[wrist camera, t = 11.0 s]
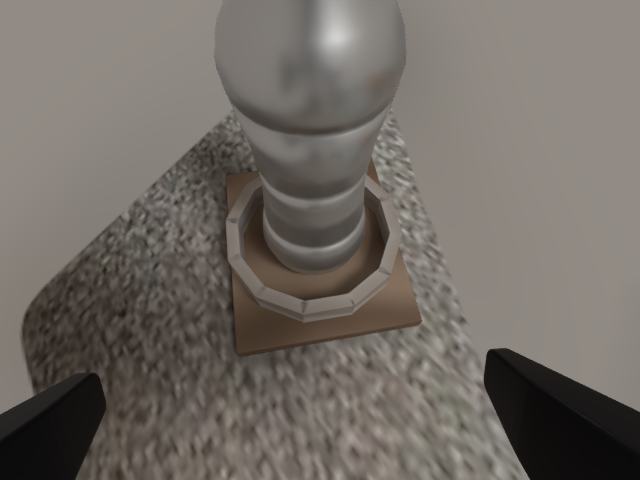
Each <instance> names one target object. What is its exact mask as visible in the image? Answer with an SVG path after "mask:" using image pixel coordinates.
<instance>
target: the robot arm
mask: <svg viewBox="0 0 640 480" xmlns="http://www.w3.org/2000/svg"><path fill="white" fill-rule="evenodd" d="M484 385H485V389H486V391H487V393H488V395H489V398H490V400H491V402H492V404H493V406H494V409H495V411H496V413H497V415H498V417H499V419H500V422H501V424H502V426H503V428H504V430H505V433H506V435H507V437H508V439H509V441H510V443H511V445H512V447H513V450H514V452H515V454H516V455H517V457H518V459H519V461H520V463H521V465H522V466H523V468H524V470H525V472H526V473H527V475H528V477H529V478H530V480H640V412H638V411H637V410H635V409H633V408H630V407H628V406H626V405H624V404H622V403H620V402H618V401H616V400H614V399H612V398H610V397H608V396H605V395H603V394H601V393H599V392H597V391H595V390H593V389H591V388H589V387H587V386H585V385H583V384H580V383H578V382H576V381H574V380H572V379H570V378H568V377H566V376H564V375H562V374H559V373H558V372H555V371H553V370H551V369H549V368H547V367H545V366H543V365H541V364H539V363H537V362H535V361H533V360H530V359H528V358H526V357H524V356H522V355H520V354H518V353H516V352H514V351H512V350H510V349H507V348H499V349H490V350H489V351H488V352H487V355H486V364H485V371H484ZM105 410H106V399H105V396H104V392H103V389H102V385H101V381H100V378H99V376H98V375H97V374H96V373H78V374H75V375H73V376H71V377H69V378H67V379H65V380H63V381H61V382H60V383H58V384H56V385H54V386H52V387H50V388H48V389H47V390H45V391H43V392H41V393H39V394H37V395H36V396H34V397H32V398H30V399H28V400H26V401H25V402H23V403H21V404H19V405H17V406H15V407H13V408H12V409H10V410H8V411H6V412H4V413H2V414H0V480H75V479H76V476H77V474H78V472H79V470H80V468H81V465H82V463H83V461H84V459H85V456H86V454H87V452H88V450H89V447H90V445H91V443H92V441H93V438H94V436H95V434H96V432H97V429H98V427H99V425H100V423H101V420H102V418H103V416H104V413H105Z"/></svg>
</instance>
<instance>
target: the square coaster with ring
mask: <svg viewBox="0 0 640 480" xmlns="http://www.w3.org/2000/svg"><path fill="white" fill-rule="evenodd" d="M226 184H227V201H228V217H227V218H226V220H225V221H226V235H227V253H228V263H229V264H230V266H231V268H232V285H233V302H234V319H235V336H236V353H237V354H238V355H239V356H240V357H241V356H247V355H253V354H258V353H264V352H270V351H275V350H281V349H287V348H293V347H298V346H304V345H310V344H315V343H321V342H327V341H332V340H338V339H344V338H349V337H355V336H361V335H366V334H372V333H378V332H384V331H389V330H395V329H401V328H406V327H412V326H417V325H419V324H420V323H421V322H422V319H421V316H420V312H419V309H418V306H417V303H416V300H415V296H414V293H413V290H412V287H411V283H410V280H409V277H408V274H407V270H406V267H405V264H404V261H403V257H402V254H401V251H400V248H399V245H400V242H401V238H402V236H403V234H402V231H401V228H400V224H399V221H398V218H397V215H396V212H395V209H394V206H393V202H392V199H391V196H390V195H389V194H388V193H386V192H385V191H384V190H383V189H382V188H381V186H380V183H379V180H378V176H377V173H376V170H375V167H374V163H373V160H372V157H371V160H370V163H369V166H368V171H367V174H366V178H365V189H364V208H365V216H366V227H365V235H364V238H363V241H362V244H361V245H360V247H359V248H358V250H357V251H356V253H355V254H354V256H353V257H352V258H351V259H350V260H349V261H348V262H347V263H346V264H345V265H344V266H342V267H341V268H339V269H337V270H335V271H332V272H330V273H325V274H319V275H309V274H302V273H299V272H296V271H293V270H291V269H289V268H288V267H286V266H285V265H283V264H282V263H281V262H280V261H279V260H278V259H277V258H276V256H275V255H274V254H273V252H272V251H271V250H270V248H269V247H268V245H267V243H266V240H265V237H264V232H263V209H264V199H263V189H262V180H261V177H260V174H259V171H254V172H246V173H239V174H231V175H226Z"/></svg>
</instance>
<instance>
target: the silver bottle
mask: <svg viewBox="0 0 640 480" xmlns="http://www.w3.org/2000/svg"><path fill="white" fill-rule="evenodd" d="M406 54H407V52H406V36H405V25H404V21H403V17H402V14H401V11H400V8H399V5H398V2H397V0H223V3H222V6H221V8H220V11H219V14H218V17H217V21H216V27H215V55H214V57H215V62H216V68H217V71H218V74H219V76H220V79H221V82H222V85H223V87H224V90H225V92H226V94H227V96H228V98H229V100H230V103H231V104H232V107H233V109H234V111H235V113H236V116H237V118H238V120H239V122H240V124H241V126H242V128H243V131H244V133H245V135H246V137H247V139H248V141H249V143H250V146H251V149H252V152H253V155H254V159H255V162H256V165H257V167H258V170H259V174H260V177H261V180H262V189H263V199H264V209H263V232H264V237H265V240H266V243H267V245H268V247H269V248H270V250H271V251H272V252H273V254H274V255H275V256H276V258H277V259H278V260H279V261H280V262H281V263H282V264H283V265H285V266H286V267H288V268H289V269H291V270H293V271H296V272H299V273H302V274H309V275H319V274H325V273H330V272H332V271H335V270H337V269H339V268H341V267H342V266H344V265H345V264H346V263H347V262H348V261H349V260H350V259H351V258H352V257H353V256H354V254H355V253H356V251H357V250H358V248H359V247H360V245H361V244H362V241H363V238H364V235H365V227H366V216H365V208H364V189H365V178H366V174H367V171H368V166H369V163H370V160H371V156H372V153H373V149H374V146H375V142H376V139H377V137H378V135H379V132H380V130H381V127H382V125H383V123H384V120H385V118H386V115H387V113H388V111H389V108H390V106H391V103H392V101H393V98H394V97H395V94H396V92H397V89H398V87H399V84H400V80H401V77H402V74H403V71H404V68H405V65H406Z"/></svg>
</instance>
